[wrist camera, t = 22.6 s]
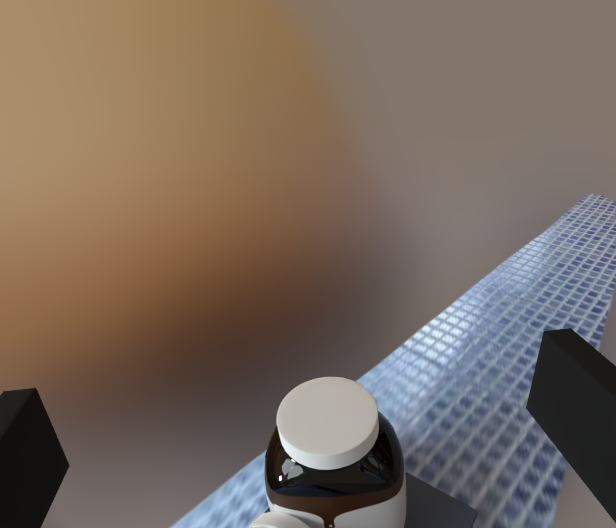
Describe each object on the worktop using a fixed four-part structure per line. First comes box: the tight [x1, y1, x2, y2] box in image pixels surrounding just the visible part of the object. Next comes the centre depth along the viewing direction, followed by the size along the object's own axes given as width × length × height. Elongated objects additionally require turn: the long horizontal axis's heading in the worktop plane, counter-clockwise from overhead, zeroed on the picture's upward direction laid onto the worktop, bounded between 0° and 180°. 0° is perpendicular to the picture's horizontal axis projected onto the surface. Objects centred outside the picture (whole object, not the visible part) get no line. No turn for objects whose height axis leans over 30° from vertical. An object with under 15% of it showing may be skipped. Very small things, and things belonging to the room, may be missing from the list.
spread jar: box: [248, 377, 406, 528], centre depth 29 cm, size 12×11×12 cm
